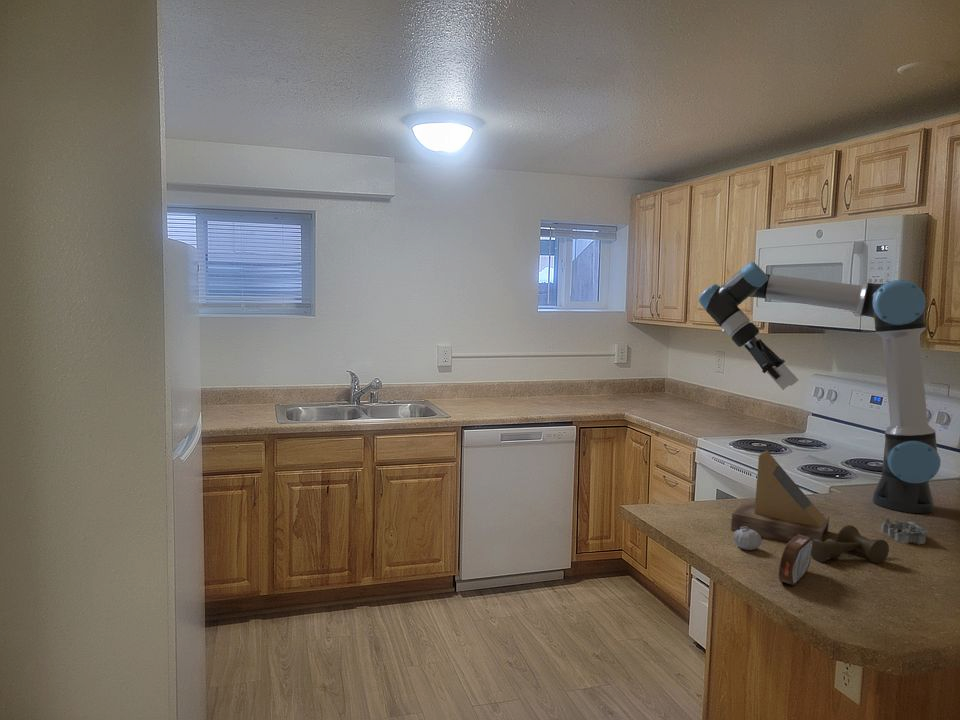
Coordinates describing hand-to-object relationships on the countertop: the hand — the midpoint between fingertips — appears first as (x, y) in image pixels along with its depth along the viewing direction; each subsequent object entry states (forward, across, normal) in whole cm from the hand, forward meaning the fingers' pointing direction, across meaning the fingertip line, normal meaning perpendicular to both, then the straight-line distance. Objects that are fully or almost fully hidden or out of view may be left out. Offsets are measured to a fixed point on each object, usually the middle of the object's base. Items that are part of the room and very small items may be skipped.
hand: (791, 385), depth 197 cm
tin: (+33, +62, -15) cm, 72 cm away
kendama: (+39, +40, -9) cm, 57 cm away
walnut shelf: (+27, +31, -20) cm, 46 cm away
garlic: (+24, +50, -24) cm, 60 cm away
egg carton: (+46, +15, -2) cm, 48 cm away
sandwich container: (+26, +31, -16) cm, 44 cm away
